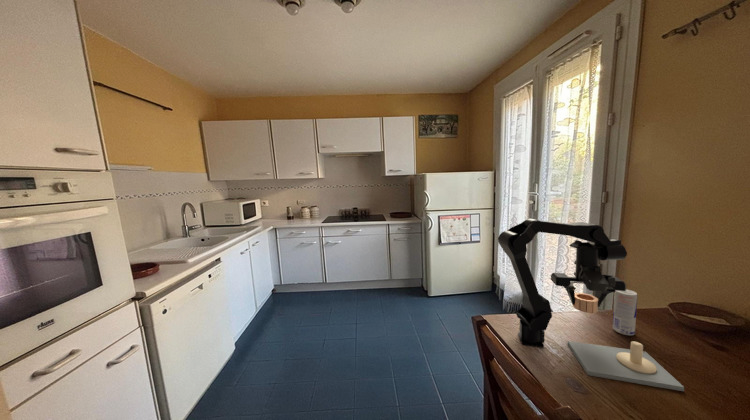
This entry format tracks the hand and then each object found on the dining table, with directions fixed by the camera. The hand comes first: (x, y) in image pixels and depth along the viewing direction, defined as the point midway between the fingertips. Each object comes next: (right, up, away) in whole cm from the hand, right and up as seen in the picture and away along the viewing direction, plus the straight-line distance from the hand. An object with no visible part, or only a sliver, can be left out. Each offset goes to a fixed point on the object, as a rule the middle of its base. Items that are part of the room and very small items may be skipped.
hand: (585, 305), depth 84 cm
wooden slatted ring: (0, -1, 0) cm, 1 cm away
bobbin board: (0, -13, -11) cm, 17 cm away
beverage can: (+17, -11, +4) cm, 21 cm away
